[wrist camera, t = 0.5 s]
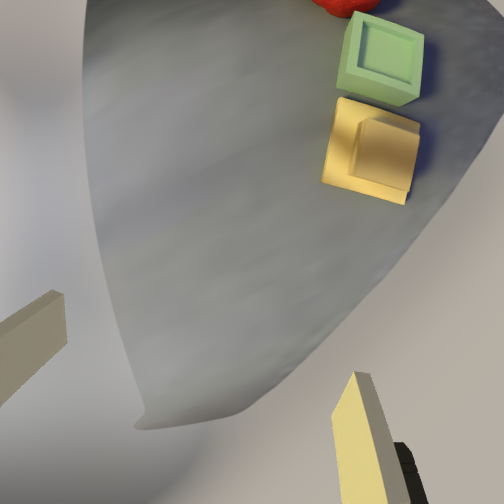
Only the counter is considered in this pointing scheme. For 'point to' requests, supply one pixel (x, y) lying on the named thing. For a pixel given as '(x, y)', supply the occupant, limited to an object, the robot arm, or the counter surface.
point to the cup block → (381, 60)
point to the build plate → (345, 144)
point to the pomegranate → (346, 6)
